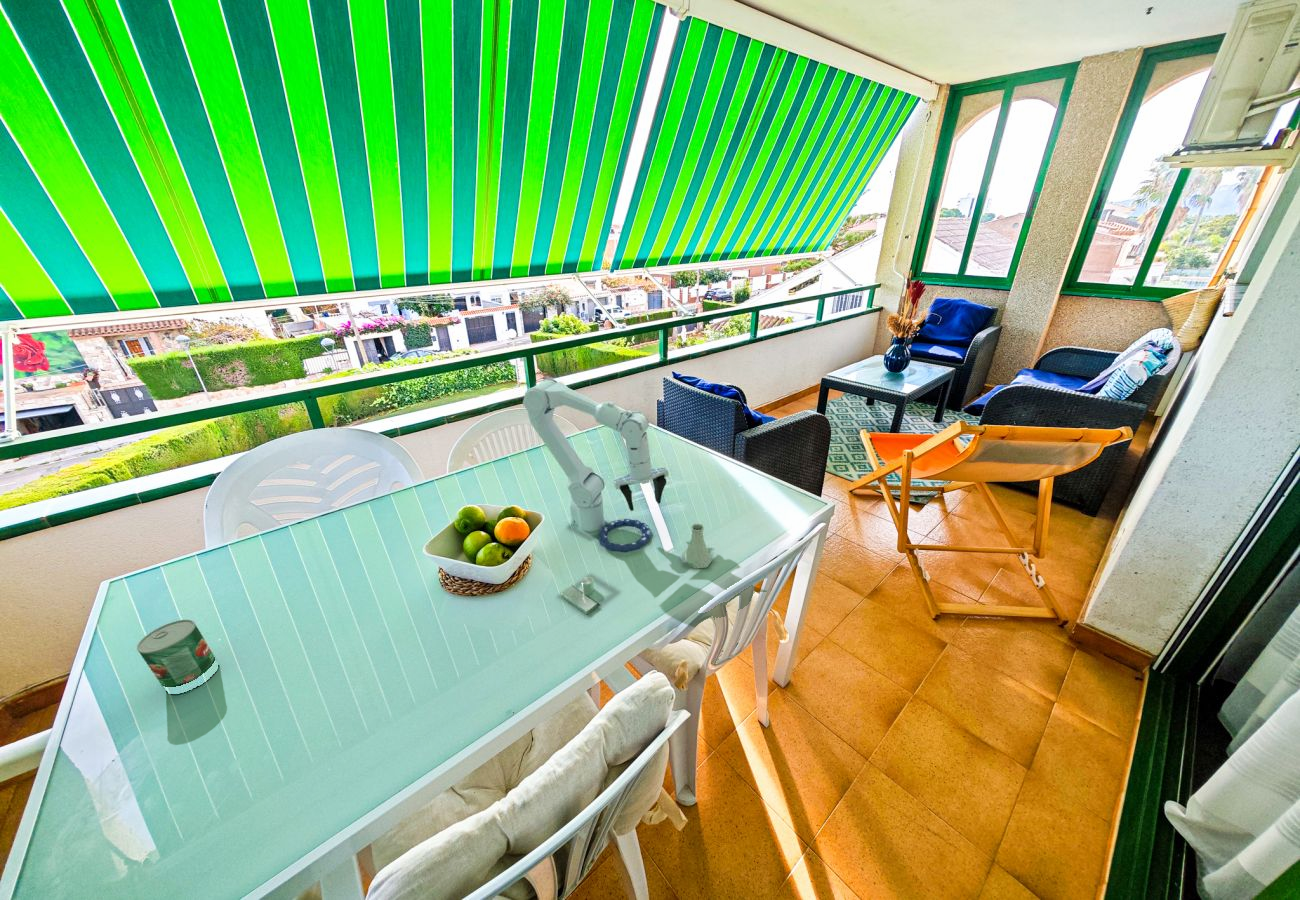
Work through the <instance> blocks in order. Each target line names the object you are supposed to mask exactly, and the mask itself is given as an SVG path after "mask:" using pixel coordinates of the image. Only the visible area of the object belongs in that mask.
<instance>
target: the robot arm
mask: <svg viewBox="0 0 1300 900" xmlns="http://www.w3.org/2000/svg"><path fill="white" fill-rule="evenodd" d="M522 405H523V406H524V408H525V409H526V411H527V415H528V418H529V422H530V425H531V426H532V428H533V429H534V430H535V432H536V433H537V434H538V435H537V436H539V438H540V439H541V440H542V442H543V443H544V445H545V446H546V448H547V449H548V451H549V452H550V453H551V455H552V457H553V458H554V459H555V461H556V462H557V463H558V465H559V467H560V468H561V469H562V471H563V472H564V473H565V475H566V476H567V490H568V491H569V493H570V497H571V501H570V505H569V512H570V518H571V523H572V524H574V525H575V526H577V527H578V528H579V529H580V530H581V531H583V532H586V533H594V532H598V531H601V529H602V527H604V526H605V525H606V523H605V522H606V521H605V514H604V513H605V511H604V501H603V496H602V491H604V489H605V485H606V484H605V483H606V482H605V480H604V478H603V477H602V476H601V475H600V474H599V473H597V472H596V470H594V468H593V467H591V466H587V465H585V464H584V462H583V461H582V460H581V457H580V456H579V455H578V454H577V452H576V451H575V449H574V448H573V446H572V445H571V443H570V442H569V440H568V439H567V438H566V436H565V435H564V433H563V431H562V430H561V428H560V427H559V426H558V424H557V422H556V421H555V420H554V414H555V413H554V412H555V409H556V408H558V407H562V406H566V407H568V408H571V409H574V410H577V411H579V412H581V413H584V414H587V415H590V416H593V418H594V420H595V422H596V423H597V424H600V425H602V426H604V427H606V428H609V429H611V430H613V431H615V432H618V433H619V434H620V436H621V437H622V438H623V440H624V441H625V449H626V456H627V463H628V470H629V471H628V472H629V473H628V474H626V475H623V476H621V477H619V478H615V479H614V480H613V486H614V488H615V490H616V491H617V490H620V493H622V495H623V496H624V498H625V500H626V502H627V506H628V509H629V510H630V511H631V512H633V511H634V503H633V491H632V490H631V488H630V486H631V485H636V484H642V485H644V484H648V483H650V481H651V480H652V484H653V489H654V499H655V502H656V503H657V504H658V505H659V504H662V503H661V502H662V501H661V500H662V496H663V492H664V489H665V487H666V485H667V479H666V478H668V477H669V470H668V468H667V467H659V468H652V464H651V456H650V455H651V453H650V447H649V446H650V445H649V439H648V432H646V431H647V430H648V428H649V425H650V422H649V418H648V417H647V416H646V415H645V414H644V413H642V412H641V411H638V410H636V411H632V410H629V409H627V410H626V409H624V408H622V407H619V406H617V405H616V404H615V402H613V401H611V400H609V401H603V402H600V403H599V402H597V401H595V400H593V399H592V398H589V397H587V396H585V395H584V394H581V393H580V392H577V391H576V390H574V389H571V388H570V387H568V386H567V385H566V384H565V383H564V382H561V381H558V380H557V379H554V378H545V379H544V380H542V381H541V382H540V383H538V384H536V385H534V386H533V387H529V388H528V389H527V390H526V391H525V393H524V396H523V400H522Z"/></svg>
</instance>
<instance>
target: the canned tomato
mask: <svg viewBox="0 0 1300 900" xmlns="http://www.w3.org/2000/svg"><path fill="white" fill-rule="evenodd" d="M136 651H137V652H138V653H139V654H140V656H141V657H142V659H143V661H144V662H145V663H146V665H147V666H148V668H149V669H150V671H151V672H152V674H153V675H154V677H155V678H156V679H157V681H158V683H160V686H161V687H162V686H165V687H176V686H181V685H183V684H186V683H189V682H191V681H193V680H195V679H197V678H198V677H199V676H201V675H202V674H203V673H205V672H206V671H207V670H208V669H209V668H210V667H211V666H212V664H213V663H214V661H215V658H216V656H215V655H214V652H212V649H211V648H210V645H208V643H207V641H206V640H205V638H204V636H203V635H202V633H201V631H200V630H199V628H198V626H197V625H196V622H195V621H194V620H192V619H178V620H175V621H172V622H168V623H166V624H164V625H161V626H159V627H157V628H155V629H154V630H152V631H151V632H149V633H148V634H146V635H145V636H144V637H143V638H141V639H140V640H139V641H138V643H137V645H136ZM214 656H215V657H214ZM191 691H192V690H190V691H189V692H191Z"/></svg>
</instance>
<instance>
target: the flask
mask: <svg viewBox="0 0 1300 900" xmlns="http://www.w3.org/2000/svg"><path fill="white" fill-rule="evenodd" d="M690 529H691V538H690V541H689V543H688V546H687V548H686V551H685V553H684V559H685V562H686V563H689V564H692V566H691V568H693V569H703V568H705V569H706V568H708V567H709V565H710V564H711V563H712V561H713V560H712V558H711V554H710V553H709V550H708V547H707V545H706V543H705V539H704V538H705V537H704V530H705V526H704V524H701V523H693V524H692V525H691V526H690Z"/></svg>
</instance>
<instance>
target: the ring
mask: <svg viewBox="0 0 1300 900" xmlns="http://www.w3.org/2000/svg"><path fill="white" fill-rule="evenodd" d="M624 526H625V527H634V528H636V529H638V530H640V532H641V533H642V535H641V537H640V538H639V539H637V540H636V541H634V542H630V543H629V542H628V543H625V544H623V543H614V542H612V541H611V540H609V538H608V535H609V533H610V532H611V531H612V530H614V529H616V528H620V527H624ZM652 535H653V532H652V530H651V528H650V527H649V526H648V524H646V523H645V522H642V521H641V520H639V519H634V518H620V519H616V520H612V521H610V522H609V523H606V524H605V525H604V527H602V529H600V530H599V533H598V535H597V540H598V541H599V545H600V546H601V547H603V548H604V549H607V550H609V551H610V552H616V553H617V552H618V553H628V552H632V551H633V552H634V551H637V550H640V549H642V548H644V546H646V545H647V544H649V543H650V541H651V538H652Z"/></svg>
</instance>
